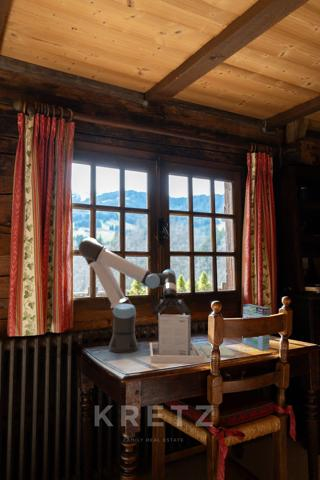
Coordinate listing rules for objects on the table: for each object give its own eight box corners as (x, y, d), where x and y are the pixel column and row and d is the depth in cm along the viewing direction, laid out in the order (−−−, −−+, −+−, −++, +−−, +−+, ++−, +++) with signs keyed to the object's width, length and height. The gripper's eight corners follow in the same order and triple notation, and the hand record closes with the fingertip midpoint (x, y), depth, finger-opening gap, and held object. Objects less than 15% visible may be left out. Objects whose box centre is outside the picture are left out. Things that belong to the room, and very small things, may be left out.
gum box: (242, 343, 212) (242, 304, 214) (249, 342, 214) (249, 303, 216) (262, 351, 194) (262, 308, 196) (270, 350, 196) (270, 307, 197)
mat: (206, 357, 180) (206, 355, 180) (200, 347, 200) (200, 345, 200) (234, 357, 180) (234, 355, 180) (225, 347, 200) (225, 346, 200)
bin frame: (151, 362, 168) (151, 356, 168) (149, 348, 196) (149, 342, 196) (202, 362, 169) (202, 356, 170) (193, 348, 197) (193, 343, 198)
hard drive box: (191, 354, 184) (191, 315, 185) (188, 358, 176) (188, 317, 177) (161, 352, 187) (161, 313, 188) (157, 356, 180) (158, 315, 181)
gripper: (191, 297, 205) (195, 329, 189) (147, 296, 204) (147, 329, 188) (192, 288, 200) (196, 320, 184) (148, 288, 199) (148, 320, 183)
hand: (172, 325), depth 186 cm, fingers closed on hard drive box, 12 cm apart
